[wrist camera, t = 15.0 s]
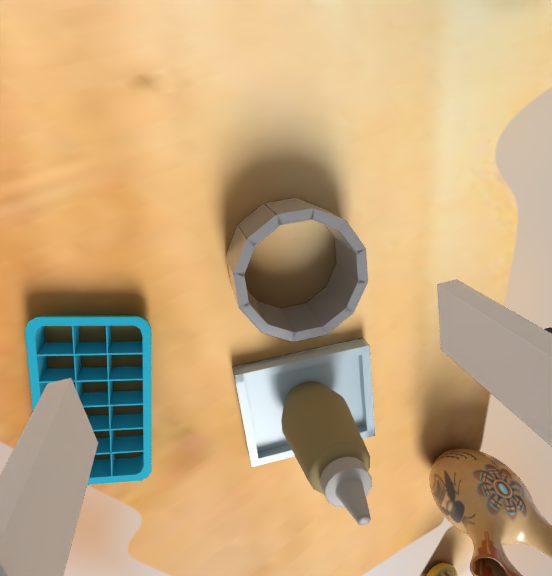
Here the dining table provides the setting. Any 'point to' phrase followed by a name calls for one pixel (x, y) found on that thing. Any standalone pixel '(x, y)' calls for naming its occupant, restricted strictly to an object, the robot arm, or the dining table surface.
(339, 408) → the squeeze bottle
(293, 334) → the grey faceted ring
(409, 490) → the dining table surface
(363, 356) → the tray
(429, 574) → the hamburger
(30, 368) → the ice cube tray
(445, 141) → the dining table surface
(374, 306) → the dining table surface
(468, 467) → the ceramic vessel
